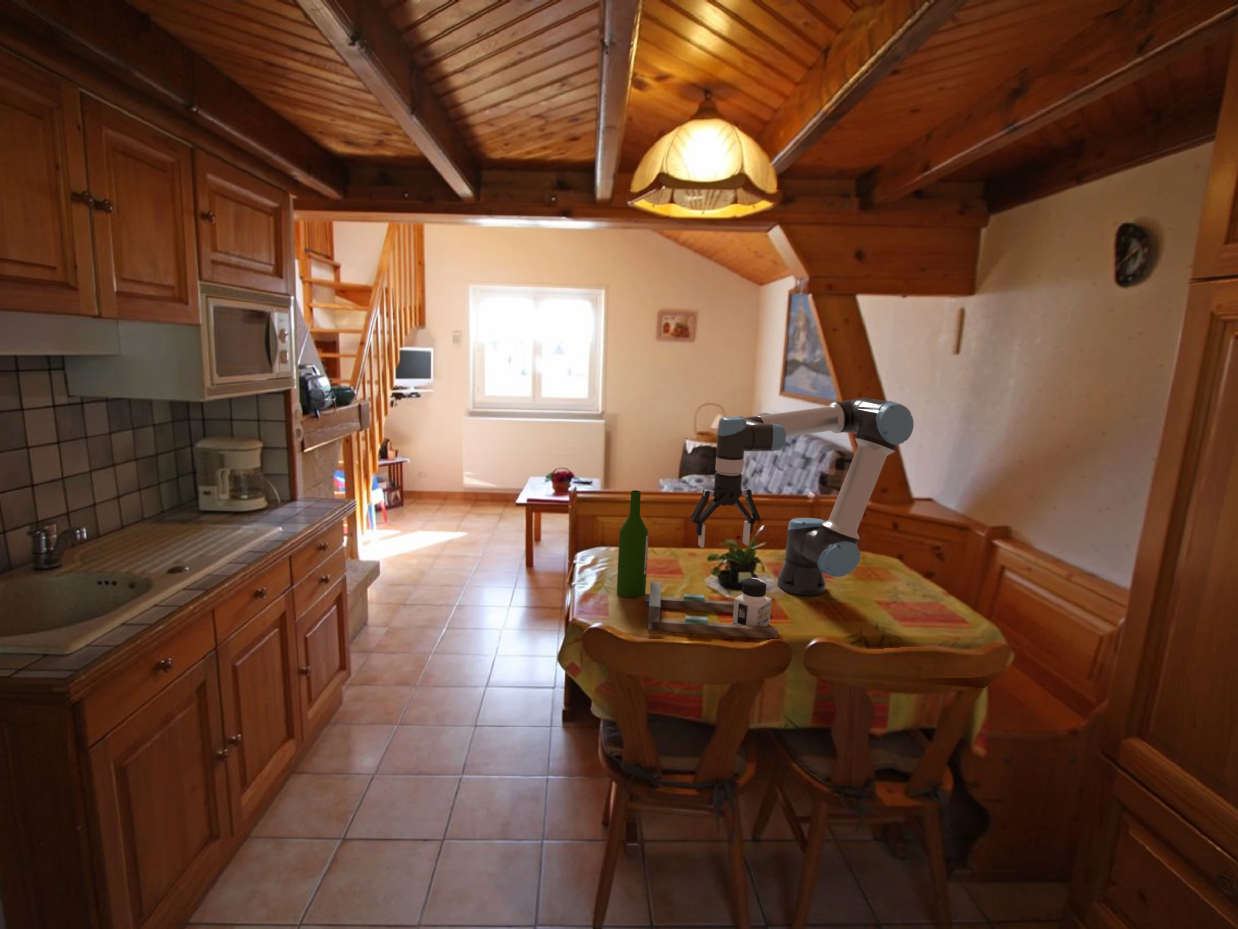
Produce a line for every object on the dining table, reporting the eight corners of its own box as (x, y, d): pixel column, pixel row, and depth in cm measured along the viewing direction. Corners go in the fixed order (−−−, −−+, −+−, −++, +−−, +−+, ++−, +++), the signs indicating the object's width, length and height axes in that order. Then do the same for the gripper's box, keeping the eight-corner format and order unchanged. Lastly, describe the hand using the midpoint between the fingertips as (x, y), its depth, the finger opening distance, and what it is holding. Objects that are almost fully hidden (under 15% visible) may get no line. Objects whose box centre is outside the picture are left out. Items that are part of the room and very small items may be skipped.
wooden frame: (767, 612, 187) (769, 590, 185) (777, 639, 170) (779, 615, 169) (645, 603, 189) (646, 581, 188) (643, 629, 172) (644, 605, 171)
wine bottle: (648, 598, 193) (653, 495, 186) (619, 598, 192) (623, 495, 185) (642, 586, 202) (647, 487, 195) (614, 587, 200) (618, 487, 194)
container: (756, 632, 173) (760, 588, 171) (731, 623, 178) (735, 580, 176) (769, 623, 179) (774, 580, 176) (746, 615, 184) (749, 573, 181)
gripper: (764, 468, 182) (758, 539, 186) (681, 470, 177) (677, 542, 181) (776, 474, 175) (769, 547, 179) (690, 476, 169) (686, 551, 174)
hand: (723, 545), depth 180 cm, fingers open, 13 cm apart
